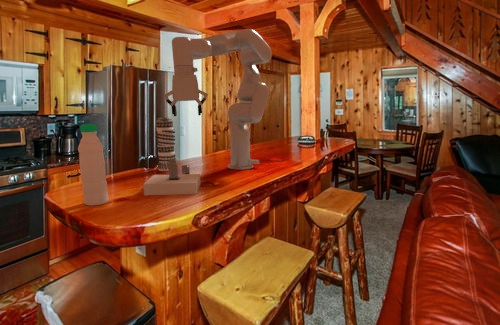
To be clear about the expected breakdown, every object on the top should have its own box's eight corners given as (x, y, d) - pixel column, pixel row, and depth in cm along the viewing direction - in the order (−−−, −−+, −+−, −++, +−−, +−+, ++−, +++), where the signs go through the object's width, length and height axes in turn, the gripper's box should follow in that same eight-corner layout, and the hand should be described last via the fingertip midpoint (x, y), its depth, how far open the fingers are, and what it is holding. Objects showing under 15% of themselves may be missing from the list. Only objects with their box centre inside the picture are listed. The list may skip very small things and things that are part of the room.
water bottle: (83, 207, 92) (73, 125, 87) (85, 201, 98) (76, 124, 94) (108, 204, 95) (100, 124, 90) (108, 198, 101) (101, 123, 96)
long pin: (179, 188, 113) (177, 159, 111) (177, 190, 110) (176, 160, 108) (170, 188, 113) (169, 159, 111) (169, 190, 110) (167, 160, 108)
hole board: (200, 183, 119) (199, 174, 118) (196, 194, 105) (196, 182, 105) (154, 185, 118) (153, 175, 117) (144, 195, 104) (143, 184, 103)
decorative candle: (180, 167, 151) (177, 117, 146) (171, 171, 142) (168, 118, 137) (163, 167, 153) (160, 117, 148) (154, 170, 144) (150, 118, 139)
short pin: (190, 177, 130) (189, 165, 129) (189, 179, 127) (188, 166, 126) (182, 177, 130) (182, 165, 129) (181, 179, 127) (181, 166, 126)
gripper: (206, 71, 121) (209, 114, 125) (163, 72, 120) (167, 116, 124) (205, 69, 114) (208, 115, 118) (159, 71, 113) (163, 117, 117)
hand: (187, 115), depth 121 cm, fingers open, 9 cm apart
